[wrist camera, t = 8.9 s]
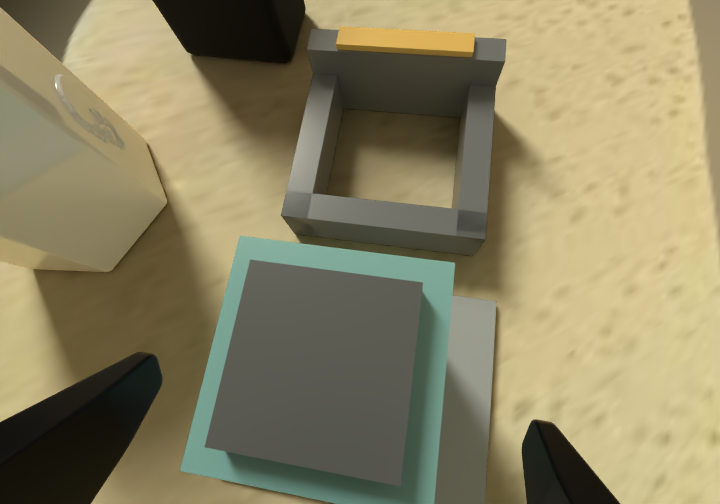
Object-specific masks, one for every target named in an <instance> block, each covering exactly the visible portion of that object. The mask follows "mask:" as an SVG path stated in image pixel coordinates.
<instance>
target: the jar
mask: <svg viewBox="0 0 720 504" xmlns="http://www.w3.org/2000/svg"><path fill="white" fill-rule="evenodd" d="M166 204H167V198H166V196H165V193H164V190H163V188H162V185H161V182H160V179H159V177H158V174H157V171H156V168H155V166H154V163H153V160H152V158H151V155H150V152H149V149H148V147H147V144H146V141H145V139H144V138H143V137H142V136H141V135H140V134H139V133H138V132H137V131H136V130H134V129H133V128H132V127H131V126H130V125H129V124H128V123H127V122H126V121H125V120H123V119H122V118H121V117H120V116H119V115H118V114H117V113H116V112H115V111H114V110H112V109H111V108H110V107H109V106H108V105H107V104H106V103H105V102H104V101H103V100H101V99H100V98H99V97H98V96H97V95H96V94H95V93H94V92H93V91H92V90H90V89H89V88H88V87H87V86H86V85H85V84H84V83H83V82H82V81H81V80H79V79H78V78H77V77H76V76H75V75H74V74H73V73H72V72H71V71H70V70H68V69H67V68H66V67H65V66H64V65H63V64H62V63H61V62H60V61H59V60H57V59H56V58H55V57H54V56H53V55H52V54H51V53H49V51H48V50H46V49H45V48H44V47H43V46H42V45H41V44H40V43H39V42H38V41H36V40H35V39H34V38H33V37H32V36H31V35H30V34H29V33H28V32H27V31H26V30H24V29H23V28H22V27H21V26H20V25H19V24H18V23H17V22H16V21H14V20H13V19H12V18H11V17H10V16H9V15H8V14H7V13H6V12H5V11H4V10H2V9H1V8H0V261H2V262H5V263H9V264H13V265H17V266H21V267H24V268H28V269H44V270H69V271H93V272H110V271H111V270H113V269H114V267H115V266H116V265H117V264H118V263H119V261H120V260H121V259H122V258H123V257H124V255H125V254H126V253H127V252H128V251H129V249H130V248H131V247H132V246H133V244H134V243H135V242H136V241H137V240H138V238H139V237H140V236H141V235H142V234H143V232H144V231H145V230H146V229H147V227H148V226H149V225H150V224H151V223H152V221H153V220H154V219H155V218H156V217H157V215H158V214H159V213H160V212H161V210H162V209H163V208H164V207H165V206H166Z"/></svg>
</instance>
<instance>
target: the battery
mask: <svg viewBox="0 0 720 504" xmlns="http://www.w3.org/2000/svg"><path fill="white" fill-rule="evenodd" d="M153 2H154V3H155V5H156V6H157V8H158V9H159V11H160V12H161V14H162V15H163V17H164V18H165V20H166V21H167V23H168V24H169V26H170V27H171V29H172V30H173V32H174V33H175V35H176V36H177V38H178V39H179V41H180V42H181V44H182V45H183V47H184V48H185V50H186V51H187V52H188V53H190V54H196V55H206V56H216V57H227V58H238V59H248V60H259V61H269V62H280V63H287V62H289V61H290V60H291V59H292V56H293V52H294V49H295V46H296V42H297V39H298V35H299V32H300V28H301V25H302V22H303V18H304V15H305V4H304V0H153Z"/></svg>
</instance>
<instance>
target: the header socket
mask: <svg viewBox="0 0 720 504" xmlns="http://www.w3.org/2000/svg"><path fill="white" fill-rule="evenodd" d="M307 53H308V56H309V60H310V64H311V67H312V71H313V77H312V81H311V86H310V90H309V94H308V99H307V103H306V108H305V112H304V116H303V121H302V125H301V129H300V134H299V138H298V143H297V147H296V151H295V156H294V160H293V164H292V169H291V173H290V178H289V182H288V186H287V191H286V195H285V200H284V204H283V208H282V213H281V216H282V217H283V219H284V220H285V221H286V223H287V224H288V225H289V227H290V228H291V229H292V231H293V232H294V233H295V234H299V235H307V236H315V237H323V238H332V239H340V240H348V241H356V242H364V243H372V244H380V245H388V246H396V247H404V248H412V249H421V250H429V251H437V252H445V253H453V254H461V255H469V256H473V255H474V254H475V253H476V251H477V250H478V249H479V247H480V246H481V245H482V243H483V242H484V241H485V239H486V224H487V209H488V194H489V180H490V165H491V150H492V135H493V120H494V106H495V91H496V84H497V82H498V79H499V76H500V74H501V71H502V68H503V66H504V63H505V54H506V39H494V38H475V33H456V32H437V31H418V30H399V29H380V28H361V27H342V26H340V27H339V30H326V29H311V33H310V37H309V42H308V46H307ZM343 108H345V109H357V110H370V111H383V112H395V113H408V114H420V115H433V116H445V117H458V118H460V127H459V137H458V148H457V158H456V169H455V179H454V189H453V200H452V209H450V208H441V207H432V206H423V205H414V204H404V203H395V202H386V201H377V200H368V199H359V198H350V197H340V196H331V195H326V194H327V189H328V184H329V178H330V173H331V168H332V163H333V158H334V153H335V148H336V143H337V138H338V133H339V127H340V122H341V117H342V112H343Z"/></svg>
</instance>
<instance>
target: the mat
mask: <svg viewBox="0 0 720 504" xmlns="http://www.w3.org/2000/svg"><path fill="white" fill-rule="evenodd" d="M496 302H497V301H490V300H483V299H475V298H468V297H461V296H454V295H452V306H451V317H450V328H449V340H448V351H447V363H446V374H445V385H444V397H443V408H442V419H441V431H440V442H439V454H438V465H437V476H436V488H435V499H434V504H485V497H486V479H487V462H488V444H489V426H490V408H491V391H492V373H493V355H494V337H495V320H496Z"/></svg>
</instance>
